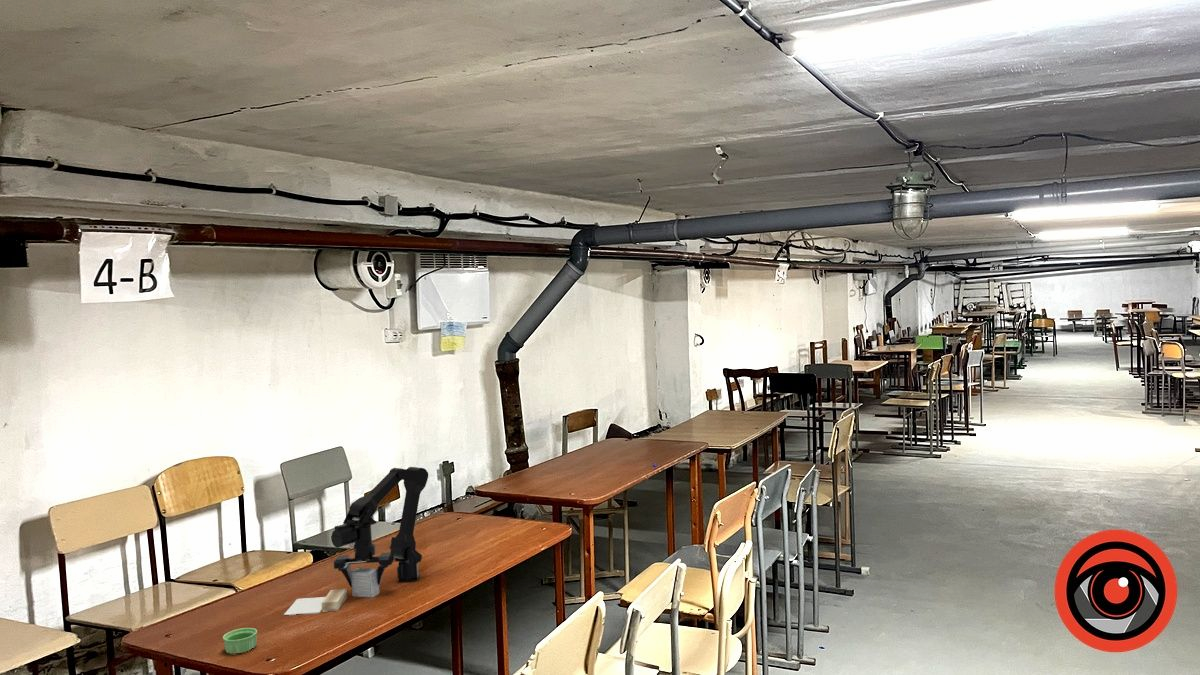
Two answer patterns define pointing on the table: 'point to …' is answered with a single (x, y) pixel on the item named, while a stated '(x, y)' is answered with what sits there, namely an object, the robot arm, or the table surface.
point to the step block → (334, 600)
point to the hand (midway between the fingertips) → (365, 585)
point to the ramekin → (240, 640)
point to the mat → (306, 606)
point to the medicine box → (365, 582)
